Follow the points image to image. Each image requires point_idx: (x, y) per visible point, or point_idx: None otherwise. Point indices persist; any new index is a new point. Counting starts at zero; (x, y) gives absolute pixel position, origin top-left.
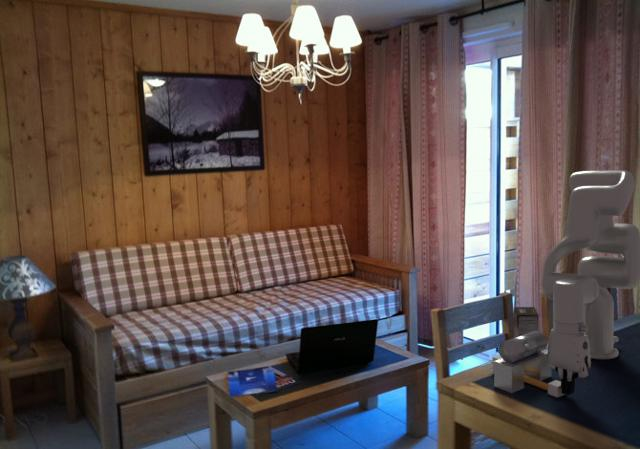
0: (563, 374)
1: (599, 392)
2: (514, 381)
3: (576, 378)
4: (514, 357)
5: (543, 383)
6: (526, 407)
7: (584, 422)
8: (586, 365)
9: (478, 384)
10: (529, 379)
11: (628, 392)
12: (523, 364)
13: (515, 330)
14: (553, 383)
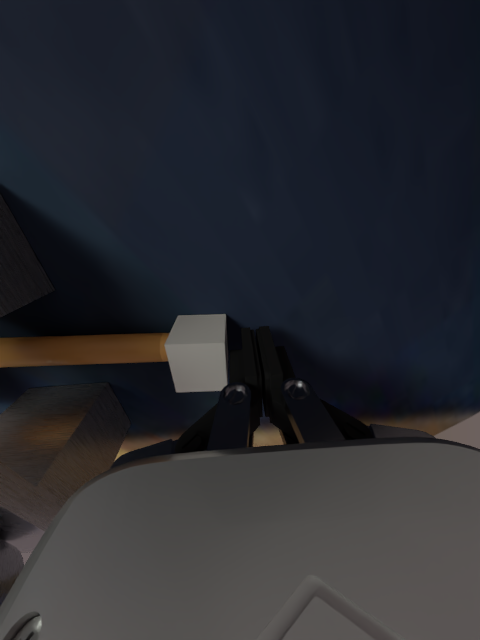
0: (252, 443)
1: (322, 150)
2: (107, 454)
3: (308, 385)
4: None
5: (135, 361)
6: None
7: (368, 407)
8: (471, 471)
9: None
10: (64, 364)
11: None
12: (28, 501)
13: None
14: (190, 378)
